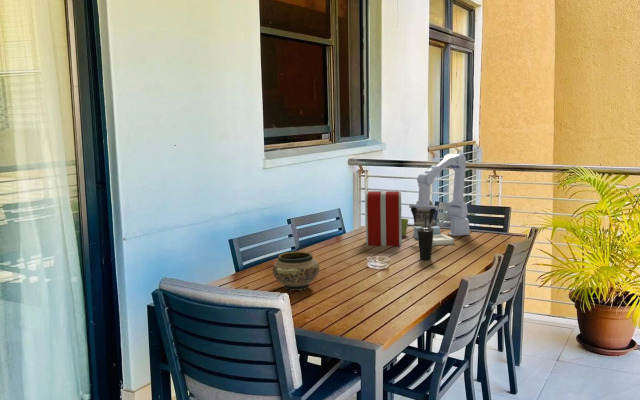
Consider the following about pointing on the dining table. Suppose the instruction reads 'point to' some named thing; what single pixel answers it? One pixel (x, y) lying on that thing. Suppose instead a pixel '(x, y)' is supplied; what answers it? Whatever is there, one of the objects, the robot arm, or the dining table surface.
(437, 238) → the tray
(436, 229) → the block
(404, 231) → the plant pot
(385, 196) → the red striped block
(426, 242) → the drinking cup
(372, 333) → the dining table surface
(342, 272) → the dining table surface
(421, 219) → the apothecary jar
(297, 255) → the ceramic bowl
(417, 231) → the block
